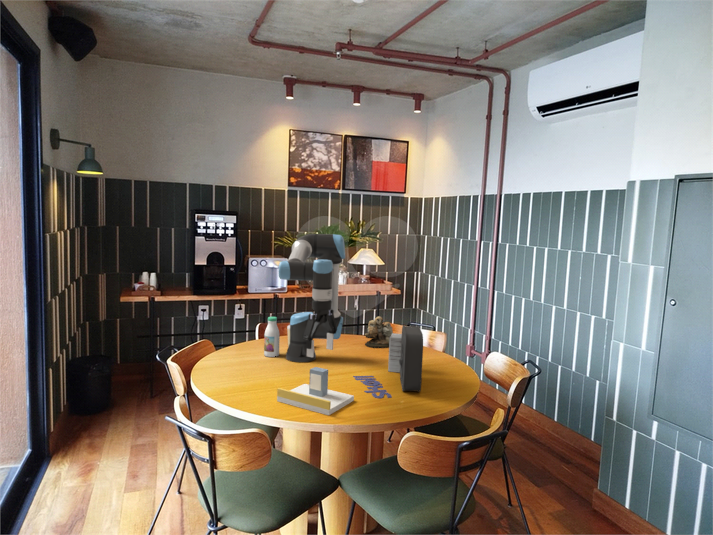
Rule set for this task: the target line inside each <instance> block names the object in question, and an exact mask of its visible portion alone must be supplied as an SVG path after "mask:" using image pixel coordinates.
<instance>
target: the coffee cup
mask: <svg viewBox="0 0 713 535" xmlns="http://www.w3.org/2000/svg"><path fill="white" fill-rule="evenodd" d="M286 328H287V348H288V347H289V344H290V324H288V325H287V327H286Z"/></svg>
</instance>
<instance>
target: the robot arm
mask: <svg viewBox="0 0 713 535" xmlns="http://www.w3.org/2000/svg"><path fill="white" fill-rule="evenodd" d="M345 247H346V246H345V239H344V237H343V236H342V235H341V234H335V233H307V234H305V235H301V236H299V238H297V239H296V240H295V241H294V242H293V244H292V245H291V252H290V255H289V257H288V259H287V260H282V261H279V264H278V278H279V280H280V279H281V280H286V281H310V282H311V281H312V292H311V295H312V296H311V297H312V300H311V309H312V310H313V312H312V311H303V312H298V313H294V314H292V315H291V316H290V321H289V325H290V344H289V347H288V346H287V350H286V353H285V359H286V360H287V361H289V360H290V361H289V362H295V363H308V362H312V361H315V360H316V352H315V339H317V340H326V350H330V351H333V350H334V340H338V339H340V338H341V334H342V330H343V323H344V317H343V316H342V315H341V312H340V311H339V310H338V309H339V308H338V307H339V277H340V276H339V274H340V265H341V264H342V263H343V260H345V259H346V248H345ZM308 258H314V260H313V262H311V261H309V262H308ZM315 258H316V259H315Z"/></svg>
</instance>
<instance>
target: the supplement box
mask: <svg viewBox="0 0 713 535" xmlns="http://www.w3.org/2000/svg"><path fill="white" fill-rule="evenodd" d="M401 339H402V333H394V332H393V333H392V335H391V336H390V340H389V348H388V365H387V366H388V369H387V371H388V372H390V373H392V372H393V373H400V364H399V360H400V358H401Z"/></svg>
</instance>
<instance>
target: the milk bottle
mask: <svg viewBox="0 0 713 535" xmlns="http://www.w3.org/2000/svg"><path fill="white" fill-rule="evenodd" d="M277 320H278V317H277V316H268V317H267V326H266V328H265V331H264V339H263V341H264V343H263V344H264V346H263V355H264V356H265V357H266V358H275V356H276V357H279V356H280V340H281V339H280V330H279V327H278V325H277V324H278V323H277Z"/></svg>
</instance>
